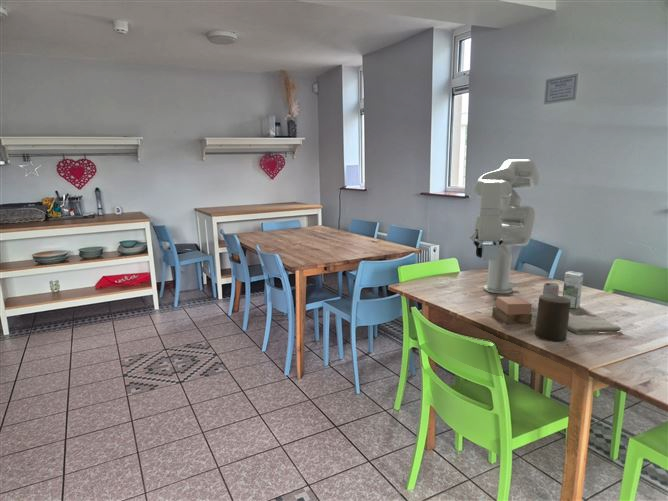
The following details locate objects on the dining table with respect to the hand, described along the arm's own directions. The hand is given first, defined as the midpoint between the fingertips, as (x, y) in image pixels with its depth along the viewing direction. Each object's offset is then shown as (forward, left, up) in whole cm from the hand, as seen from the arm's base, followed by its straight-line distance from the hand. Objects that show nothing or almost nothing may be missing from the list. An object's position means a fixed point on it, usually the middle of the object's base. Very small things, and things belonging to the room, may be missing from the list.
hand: (486, 256), depth 174 cm
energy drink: (-21, +13, -21) cm, 33 cm away
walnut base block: (-3, +17, -21) cm, 27 cm away
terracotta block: (-3, +17, -17) cm, 25 cm away
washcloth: (-26, +28, -22) cm, 44 cm away
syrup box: (-36, +6, -21) cm, 42 cm away
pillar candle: (-7, +34, -21) cm, 41 cm away
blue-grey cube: (0, 0, -1) cm, 1 cm away
